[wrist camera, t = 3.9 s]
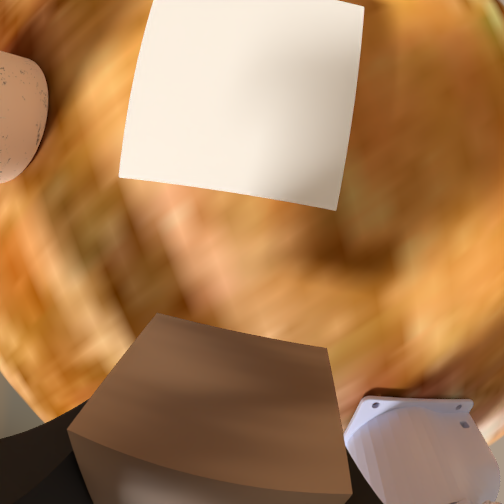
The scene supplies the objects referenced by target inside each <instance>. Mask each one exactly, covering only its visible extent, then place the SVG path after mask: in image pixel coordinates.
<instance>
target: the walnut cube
mask: <svg viewBox="0 0 504 504" xmlns="http://www.w3.org/2000/svg"><path fill="white" fill-rule="evenodd" d="M67 432H68V435H69V438H70V441H71V445H72V448H73V451H74V454H75V457H76V460H77V463H78V465H79V468H80V471H81V474H82V476H83V479H84V481H85V484H86V487H87V489H88V491H89V494H90V496H91V499H92V501H93V503H94V504H345V503H346V501H347V500H348V499H349V498H350V497H351V495H352V494H353V492H352V486H351V479H350V472H349V466H348V460H347V453H346V447H345V441H344V436H343V430H342V424H341V419H340V413H339V408H338V402H337V397H336V392H335V387H334V381H333V376H332V371H331V366H330V362H329V357H328V352H327V348H322V347H316V346H310V345H304V344H298V343H292V342H287V341H281V340H276V339H271V338H266V337H261V336H256V335H251V334H246V333H241V332H236V331H232V330H227V329H222V328H218V327H213V326H209V325H205V324H200V323H196V322H192V321H188V320H184V319H180V318H176V317H172V316H168V315H164V314H160V313H157V314H156V315H155V316H154V318H153V319H152V320H151V321H150V323H149V324H148V325H147V326H146V328H145V329H144V330H143V331H142V333H141V334H140V335H139V336H138V338H137V339H136V340H135V341H134V343H133V344H132V345H131V346H130V348H129V349H128V350H127V351H126V353H125V354H124V355H123V356H122V358H121V359H120V360H119V362H118V363H117V364H116V365H115V367H114V368H113V369H112V370H111V372H110V373H109V374H108V376H107V377H106V378H105V379H104V381H103V382H102V383H101V385H100V386H99V387H98V389H97V390H96V391H95V392H94V394H93V395H92V396H91V398H90V399H89V400H88V402H87V403H86V404H85V406H84V407H83V408H82V410H81V411H80V412H79V414H78V415H77V416H76V418H75V419H74V420H73V422H72V423H71V424H70V426H69V427H68V428H67Z"/></svg>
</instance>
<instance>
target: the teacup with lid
mask: <svg viewBox="0 0 504 504" xmlns="http://www.w3.org/2000/svg"><path fill="white" fill-rule="evenodd" d="M47 113H48V88H47V83H46V79H45V76H44V74H43V72H42V70H41V69H40V67H39V66H38V65H37V64H36V63H35V62H34V61H32V60H30V59H28V58H24V57H21V56H17V55H14V54H10V53H6V52H3V51H0V183H4V182H7V181H10V180H12V179H14V178H15V177H17V176H18V175H19V174H20V173H21V172H22V171H23V170H24V169H25V168H26V167H27V165H28V164H29V163H30V161H31V160H32V158H33V156H34V154H35V153H36V151H37V148H38V146H39V144H40V141H41V139H42V136H43V132H44V129H45V125H46V120H47Z"/></svg>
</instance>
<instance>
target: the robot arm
mask: <svg viewBox="0 0 504 504" xmlns="http://www.w3.org/2000/svg"><path fill="white" fill-rule="evenodd" d="M88 400H89V399H88ZM88 400H86V401H85V402H83V403H82V404H80V405H78V406H77V407H75V408H73V409H72V410H70V411H68V412H66V413H64V414H62V415H61V416H59V417H57V418H55V419H53V420H51V421H49V422H47V423H45V424H43V425H40V426H38V427H36V428H33V429H30V430H28V431H25V432H22V433H19V434H16V435H13V436H10V437H6V438H2V439H0V504H94V503H93V501H92V499H91V496H90V494H89V491H88V489H87V487H86V484H85V481H84V479H83V476H82V474H81V471H80V468H79V465H78V463H77V460H76V457H75V454H74V451H73V448H72V445H71V441H70V438H69V435H68V432H67V428H68V427H69V426H70V424H71V423H72V422H73V420H74V419H75V418H76V416H77V415H78V414H79V412H80V411H81V410H82V408H83V407H84V406H85V404H86V403H87V402H88ZM376 402H378V403H376ZM374 403H376V404H374ZM473 405H474V403H473V401H472V400H471V399H417V398H396V397H382V396H366V397H364V398H363V399H362V400H361V401H360V403H359V405H358V407H357V409H356V411H355V413H354V415H353V417H352V419H351V421H350V423H349V425H348V427H347V428H346V430H345V432H344V434H343V436H344V441H345V447H346V453H347V460H348V466H349V472H350V479H351V486H352V492H353V494H352V495H351V497H350V498H349V499H348V500H347V501H346V503H345V504H502V503H500V502H495V500H496V498H497V495H498V492H499V487H500V471H499V467H498V464H497V461H496V459H495V457H494V456H493V454H492V452H491V450H490V448H489V446H488V445H487V443H486V441H485V439H484V438H483V436H482V434H481V432H480V431H479V429H478V427H477V426H476V424H475V422H474V421H473V419H472V417H471V416H470V414H469V412H470V410H471V409H472V407H473Z"/></svg>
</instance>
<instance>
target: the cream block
mask: <svg viewBox="0 0 504 504" xmlns="http://www.w3.org/2000/svg"><path fill="white" fill-rule="evenodd" d="M363 19H364V7H363V6H359V5H355V4H351V3H347V2H343V1H338V0H154V1H153V4H152V7H151V11H150V14H149V18H148V21H147V25H146V29H145V32H144V36H143V40H142V44H141V48H140V52H139V57H138V61H137V66H136V70H135V75H134V80H133V85H132V90H131V95H130V100H129V106H128V112H127V118H126V124H125V131H124V138H123V145H122V153H121V161H120V170H119V177H121V178H130V179H139V180H147V181H155V182H163V183H171V184H178V185H185V186H193V187H200V188H207V189H213V190H220V191H226V192H233V193H239V194H245V195H252V196H258V197H263V198H269V199H275V200H281V201H286V202H292V203H297V204H303V205H308V206H313V207H319V208H324V209H329V210H334V211H336V209H337V204H338V199H339V194H340V189H341V183H342V178H343V172H344V166H345V161H346V155H347V149H348V143H349V136H350V130H351V123H352V116H353V109H354V102H355V95H356V87H357V79H358V70H359V61H360V52H361V42H362V31H363Z"/></svg>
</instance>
